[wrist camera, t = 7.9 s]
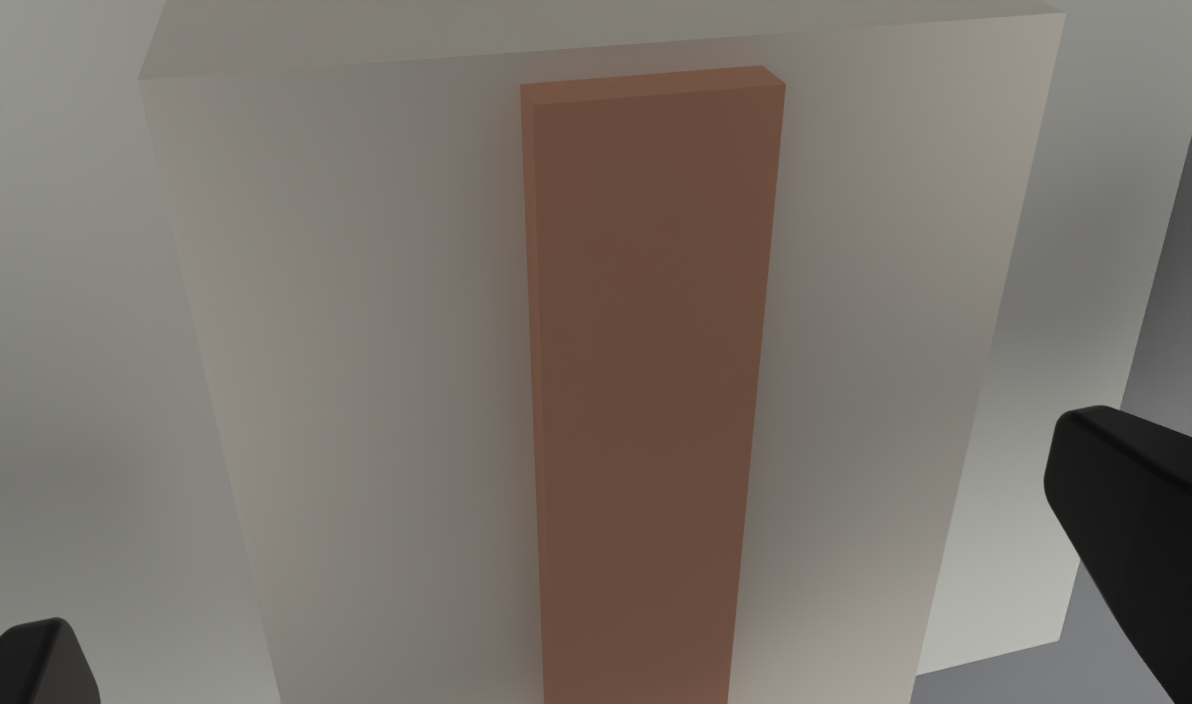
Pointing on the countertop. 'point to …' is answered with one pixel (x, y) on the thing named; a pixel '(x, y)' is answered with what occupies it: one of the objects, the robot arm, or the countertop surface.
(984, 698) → the countertop surface
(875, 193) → the card box
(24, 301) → the mat
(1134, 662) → the countertop surface
